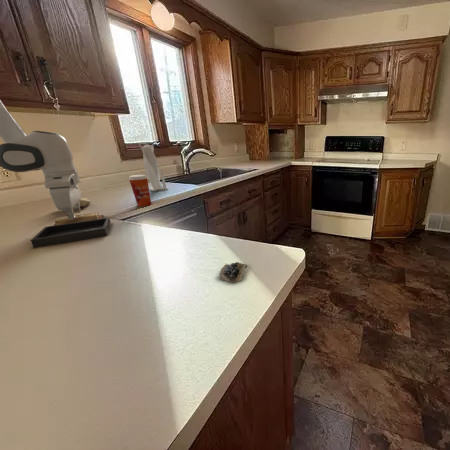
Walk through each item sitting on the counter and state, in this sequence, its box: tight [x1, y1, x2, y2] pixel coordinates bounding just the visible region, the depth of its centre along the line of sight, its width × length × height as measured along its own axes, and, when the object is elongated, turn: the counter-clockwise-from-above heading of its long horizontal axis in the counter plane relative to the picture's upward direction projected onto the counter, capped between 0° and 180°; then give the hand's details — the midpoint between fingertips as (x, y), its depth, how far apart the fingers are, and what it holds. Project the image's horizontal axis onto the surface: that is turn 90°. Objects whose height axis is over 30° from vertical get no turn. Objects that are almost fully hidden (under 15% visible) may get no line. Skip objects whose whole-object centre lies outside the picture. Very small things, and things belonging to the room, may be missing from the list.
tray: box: [30, 217, 112, 249], centre depth 82 cm, size 18×14×3 cm
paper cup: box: [128, 174, 152, 207], centre depth 115 cm, size 8×8×14 cm
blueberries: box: [218, 261, 248, 284], centre depth 56 cm, size 7×8×2 cm
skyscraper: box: [138, 142, 168, 193], centre depth 147 cm, size 8×8×28 cm
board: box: [54, 211, 100, 225], centre depth 93 cm, size 12×5×2 cm, turn 122°
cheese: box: [72, 196, 91, 209], centre depth 112 cm, size 15×7×15 cm
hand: (75, 215), depth 93 cm, fingers open, 8 cm apart
